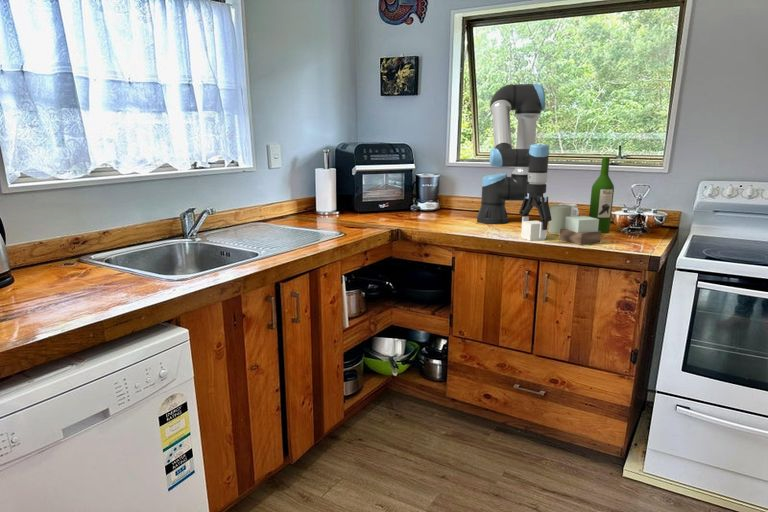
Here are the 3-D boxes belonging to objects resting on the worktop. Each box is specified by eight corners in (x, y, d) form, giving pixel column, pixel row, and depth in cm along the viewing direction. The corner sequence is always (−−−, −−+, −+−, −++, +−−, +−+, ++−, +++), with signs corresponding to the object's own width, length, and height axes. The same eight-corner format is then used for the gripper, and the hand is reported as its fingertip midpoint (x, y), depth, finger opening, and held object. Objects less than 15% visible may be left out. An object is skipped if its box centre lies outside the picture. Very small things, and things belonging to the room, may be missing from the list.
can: (570, 234, 214) (573, 206, 212) (548, 233, 216) (551, 206, 213) (567, 230, 223) (570, 203, 220) (546, 229, 225) (548, 203, 222)
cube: (521, 237, 208) (522, 221, 206) (535, 236, 210) (536, 220, 208) (530, 241, 201) (531, 224, 200) (545, 240, 203) (546, 223, 201)
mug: (570, 228, 228) (572, 207, 225) (553, 223, 239) (555, 203, 236) (584, 227, 230) (586, 206, 228) (567, 222, 241) (569, 202, 239)
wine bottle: (594, 233, 214) (602, 158, 207) (583, 230, 223) (590, 157, 215) (613, 233, 216) (622, 157, 208) (601, 229, 224) (609, 156, 216)
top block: (564, 228, 202) (565, 216, 201) (583, 227, 204) (585, 215, 203) (577, 232, 194) (579, 220, 193) (597, 231, 196) (599, 219, 195)
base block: (559, 240, 203) (560, 229, 201) (578, 238, 207) (579, 226, 206) (580, 246, 193) (581, 233, 192) (600, 243, 198) (601, 231, 197)
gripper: (513, 180, 211) (510, 229, 216) (546, 186, 187) (542, 240, 192) (528, 180, 213) (525, 228, 218) (563, 185, 189) (559, 239, 194)
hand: (533, 234), depth 205 cm, fingers open, 13 cm apart
